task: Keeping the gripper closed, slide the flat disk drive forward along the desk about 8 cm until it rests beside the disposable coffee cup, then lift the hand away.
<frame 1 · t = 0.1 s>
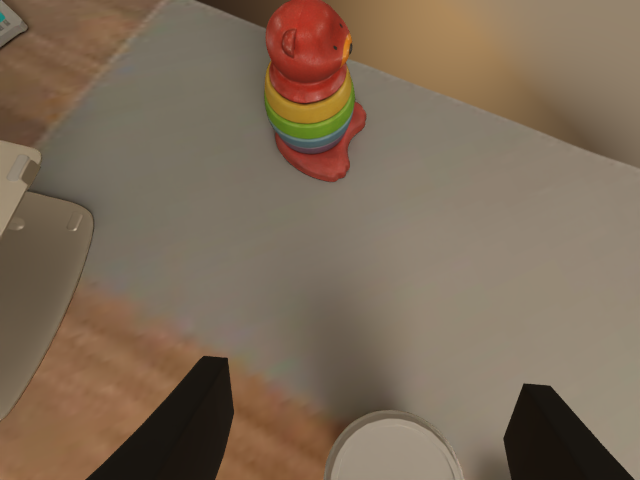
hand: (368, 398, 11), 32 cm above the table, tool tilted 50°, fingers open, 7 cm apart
disposable coffee cup: (379, 460, 39), on the table
stacking bear: (316, 137, 51), on the table
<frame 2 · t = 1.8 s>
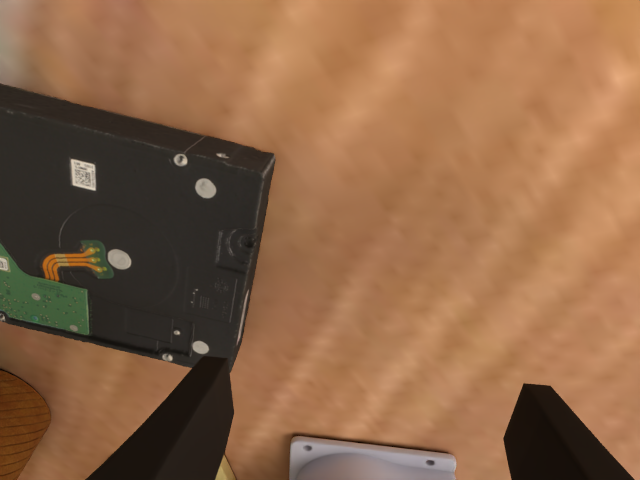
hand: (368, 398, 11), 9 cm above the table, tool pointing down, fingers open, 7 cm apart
disk drive: (101, 215, 19), on the table
disposable coffee cup: (3, 399, 26), on the table
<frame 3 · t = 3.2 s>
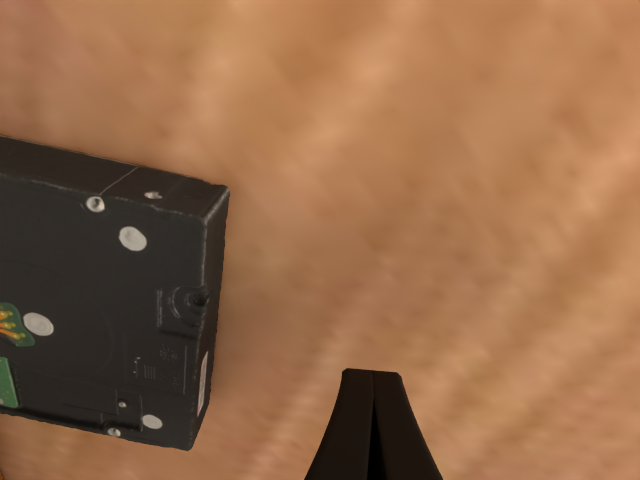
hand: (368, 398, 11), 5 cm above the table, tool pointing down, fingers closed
disk drive: (29, 261, 16), on the table
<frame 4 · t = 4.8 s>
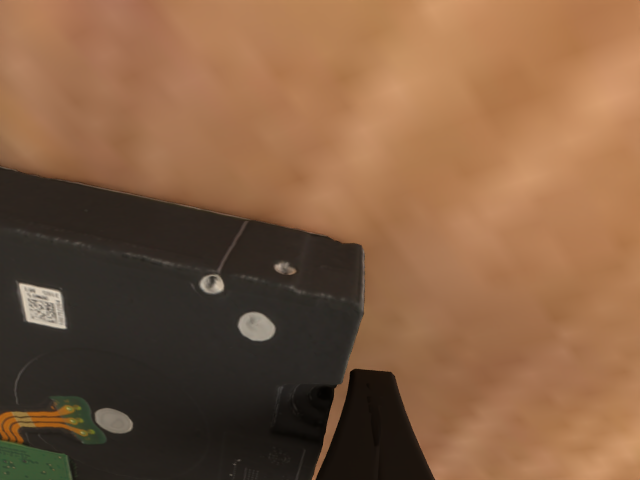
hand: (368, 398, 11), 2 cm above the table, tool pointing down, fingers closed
disk drive: (88, 326, 13), on the table, touching gripper
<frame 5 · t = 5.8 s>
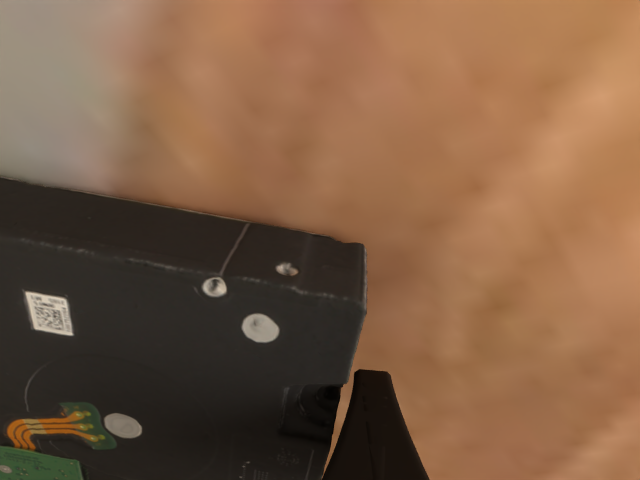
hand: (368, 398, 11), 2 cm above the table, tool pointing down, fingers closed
disk drive: (96, 332, 13), on the table, touching gripper
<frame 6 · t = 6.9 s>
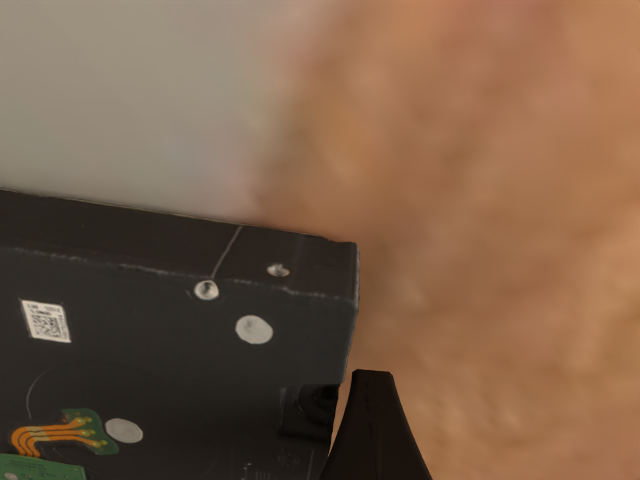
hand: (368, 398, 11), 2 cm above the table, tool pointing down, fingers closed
disk drive: (97, 339, 13), on the table, touching gripper
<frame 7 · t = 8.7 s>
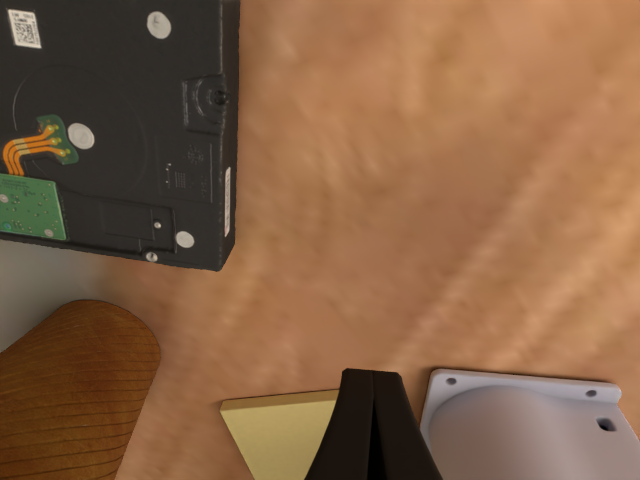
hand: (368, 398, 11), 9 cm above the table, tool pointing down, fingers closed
disk drive: (67, 109, 18), on the table
sticky note pad: (300, 436, 26), on the table
disposable coffee cup: (108, 341, 24), on the table
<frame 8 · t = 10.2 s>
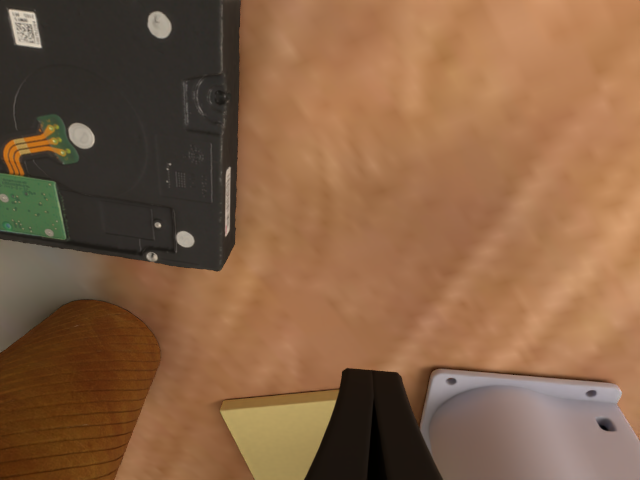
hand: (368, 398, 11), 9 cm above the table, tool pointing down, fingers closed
disk drive: (67, 109, 18), on the table
sticky note pad: (300, 436, 26), on the table
disposable coffee cup: (108, 341, 24), on the table
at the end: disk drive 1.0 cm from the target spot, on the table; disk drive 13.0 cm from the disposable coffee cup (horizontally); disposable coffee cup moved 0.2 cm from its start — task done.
